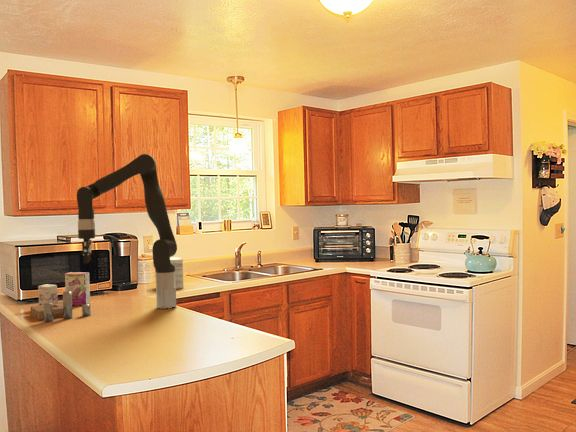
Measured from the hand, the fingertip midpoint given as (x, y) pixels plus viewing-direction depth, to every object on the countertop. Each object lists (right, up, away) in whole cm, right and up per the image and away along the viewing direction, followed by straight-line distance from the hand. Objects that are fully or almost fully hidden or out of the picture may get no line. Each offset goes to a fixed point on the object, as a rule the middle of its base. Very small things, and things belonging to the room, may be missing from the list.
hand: (87, 262), depth 243 cm
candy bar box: (-11, -23, +16) cm, 31 cm away
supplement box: (+25, -21, +64) cm, 72 cm away
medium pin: (-9, -24, -21) cm, 33 cm away
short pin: (+4, -23, -11) cm, 26 cm away
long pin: (-2, -24, -16) cm, 29 cm away
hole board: (-14, -24, -8) cm, 29 cm away
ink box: (-22, -24, +8) cm, 34 cm away
